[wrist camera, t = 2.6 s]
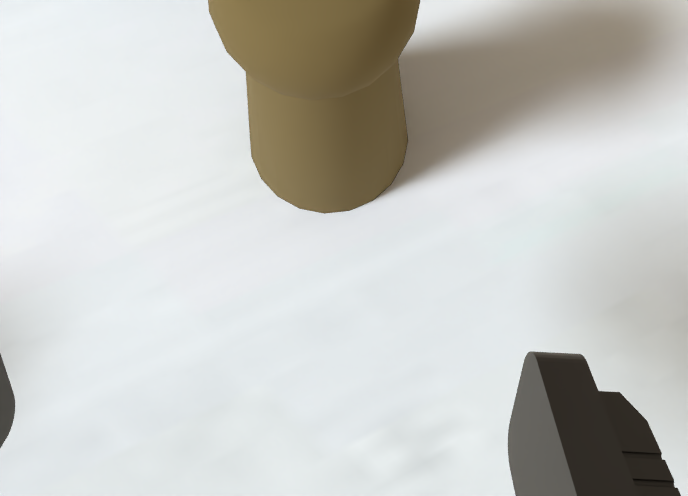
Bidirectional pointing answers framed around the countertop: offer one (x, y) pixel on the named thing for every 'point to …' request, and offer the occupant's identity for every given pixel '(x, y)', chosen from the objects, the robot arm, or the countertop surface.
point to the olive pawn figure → (322, 94)
